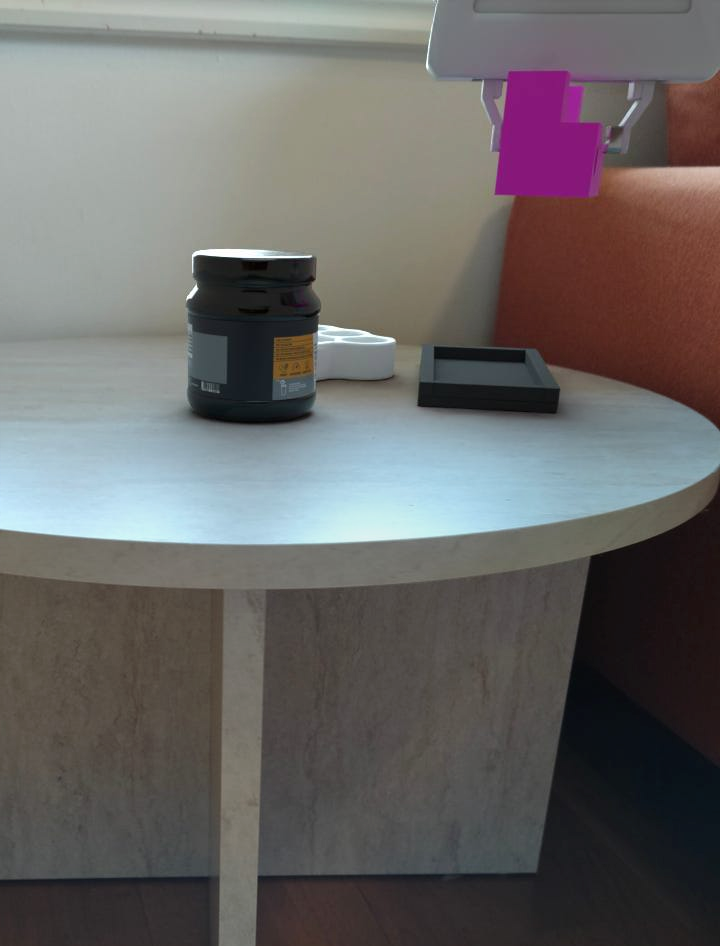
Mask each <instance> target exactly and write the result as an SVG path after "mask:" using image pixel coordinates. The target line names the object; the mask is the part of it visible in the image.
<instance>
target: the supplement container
mask: <svg viewBox="0 0 720 946" xmlns="http://www.w3.org/2000/svg"><path fill="white" fill-rule="evenodd" d="M191 259H192V267H191V268H192V269H191V271H192V272H191V273H192V276H191V277H192V279H193V280H194V281H195V287H193V289H192V290H191V291H190V293H189V294H188V295H187V297H186V299H185V310H186V312H187V388H186V398H187V402H188V404H189V406H190V407H191V408H192V409H194V411H196V412H198V413H199V414H201V415H203V416H205V417H209V418H213V419H218V420H222V421H223V420H224V421H231V422H232V421H233V422H246V423H249V422H250V423H267V422H268V423H269V422H279V421H286V420H291V419H296V418H298V417H301V416H303V415H305V414H307V413H308V412H310V411H311V410H312V409H313V407H314V406H315V403H316V401H317V390H316V385H317V381H316V366H317V345H318V325H320V324H319V322H320V314H321V311H322V302H321V300H320V298H319V296H318V294H317V293H316V292H315V291H314V289H313V287H312V286H313V283H315V282H316V281H317V264H318V263H317V261H318V259H317V256H316V255H315V254H314V253H311V252H305V251H297V250H287V249H286V250H285V249H265V248H264V249H263V248H259V249H258V248H223V249H222V248H219V249H218V248H217V249H205V250H198V251H195V252H194V253H193V254H192V258H191Z"/></svg>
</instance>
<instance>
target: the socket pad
mask: <svg viewBox="0 0 720 946" xmlns="http://www.w3.org/2000/svg"><path fill="white" fill-rule="evenodd" d="M421 345H422V346H421V356H420V365H419V366H420V367H419V378H418V380H419V381H418V390H417V391H418V393H417V402H416V403H417V405H416V406H418V407H435V408H436V407H437V408H453V409H456V408H457V409H473V410H474V409H475V410H492V411H512V412H530V413H531V412H532V413H533V412H534V413H553V414H556V413H558V408H559V402H560V401H559V400H560V393H561V387H560V386H559V384H558V383H557V381H556V379H555V377H554V376H553V374H552V372H551V371H550V368H549V367H548V365H547V363H546V362H545V361H544V359H543V356H542V355H541V354H540V352H539V350H538V349H537V348H525V347H522V348H521V347H505V346H504V347H501V346H499V347H498V346H480V345H478V346H477V345H453V344H452V345H451V344H433V343H432V344H430V343H422V344H421Z"/></svg>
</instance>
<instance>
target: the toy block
mask: <svg viewBox="0 0 720 946" xmlns="http://www.w3.org/2000/svg"><path fill="white" fill-rule="evenodd" d="M570 76H571V74H570V73H569V72H568V71H509V72H508V81H507V82H506V90H505V100H504V108H503V116H502V121H503V125H502V133H501V142H500V151H499V152H498V161H497V169H496V177H495V179H496V180H495V187H494V196H517V197H519V196H520V197H550V198H551V197H554V198H556V197H557V198H587V199H589V198H592V197H597V196H599V191H600V186H601V185H600V184H601V179H602V171H603V165H604V160H605V159H604V158H605V154H603V148H604V143H603V133H604V124H603V123H601V122H580V121H581V114H582V105H583V99H584V94H585V93H584V92H585V87H584V86H583V85H570V83H571V82H570Z"/></svg>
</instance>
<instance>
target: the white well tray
mask: <svg viewBox="0 0 720 946" xmlns="http://www.w3.org/2000/svg"><path fill="white" fill-rule="evenodd" d="M396 347H397V342H396V339H395V338H393V337H389V336H381V335H375V334H371V333H370V332H369V331H364V330H360V329H349V328H341V327H337V326H334V325H324V324H318V345H317V366H316V382H317V381H324V380H339V379H340V380H352V381H379V380H386V379H387V380H388V379H390V378H392V377H393V375H394V374H395V373H394V372H395V361H396Z"/></svg>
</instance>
